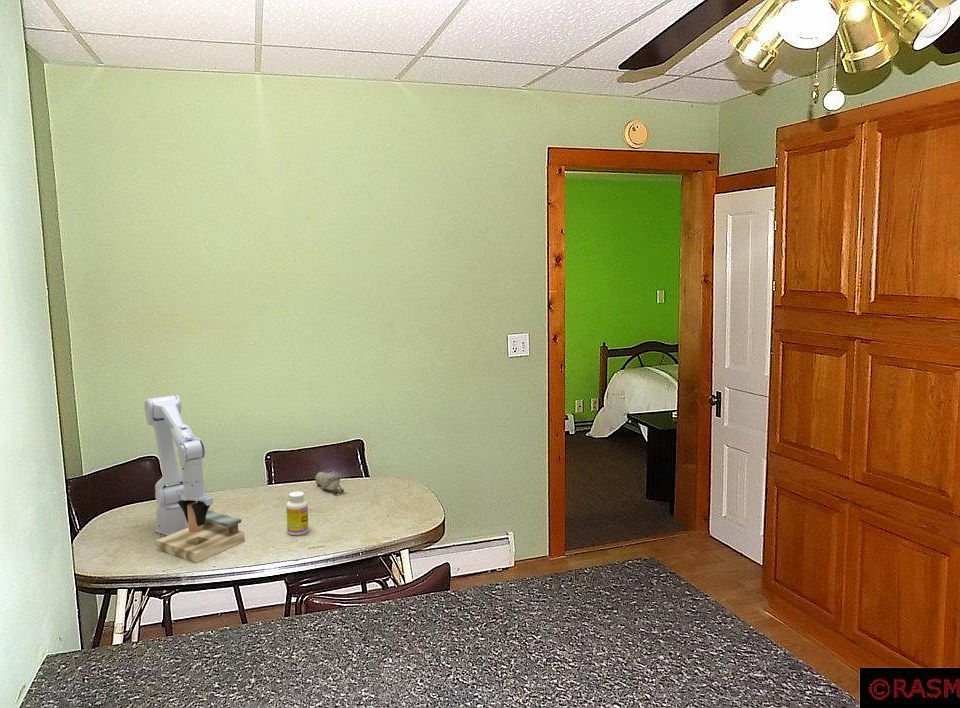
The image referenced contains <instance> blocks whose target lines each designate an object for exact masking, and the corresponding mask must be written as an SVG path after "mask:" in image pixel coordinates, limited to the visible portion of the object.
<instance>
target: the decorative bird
mask: <svg viewBox="0 0 960 708" xmlns="http://www.w3.org/2000/svg"><path fill="white" fill-rule="evenodd" d="M314 479H315V484H316V485H317V486H321V488H322V489H324V490H327V491H333V492H334V494H333V495H332V496H336V495H338V494H342V493H345V490H344V488H342V487H341V475H338V474H337V475H335V474H332V473H328V472H327V473H325V472H323V471H319V472H318V473H316V475H315V478H314ZM337 488H339V489H340V490H341V491H340V492H339V493H338V489H337Z"/></svg>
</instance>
